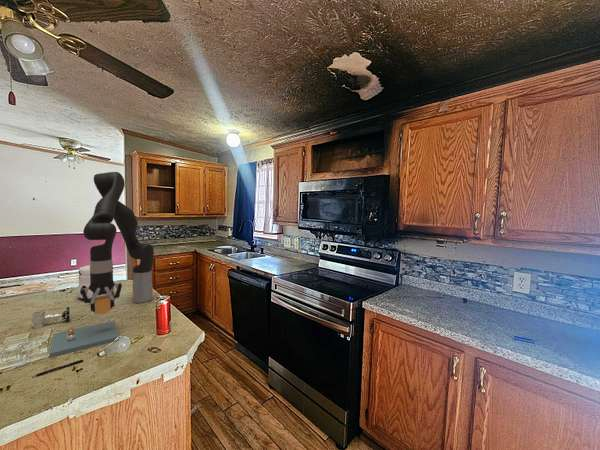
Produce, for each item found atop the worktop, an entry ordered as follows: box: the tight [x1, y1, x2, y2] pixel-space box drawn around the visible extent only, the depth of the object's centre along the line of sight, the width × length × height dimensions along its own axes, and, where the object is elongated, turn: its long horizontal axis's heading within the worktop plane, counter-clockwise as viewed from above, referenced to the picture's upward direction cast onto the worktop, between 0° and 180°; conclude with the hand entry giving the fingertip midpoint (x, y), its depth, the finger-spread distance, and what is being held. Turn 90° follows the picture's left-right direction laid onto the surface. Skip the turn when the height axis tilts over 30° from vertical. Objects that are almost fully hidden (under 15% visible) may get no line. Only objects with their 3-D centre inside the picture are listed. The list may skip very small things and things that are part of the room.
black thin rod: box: [31, 359, 84, 379], centre depth 84 cm, size 12×1×1 cm, turn 138°
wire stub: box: [67, 328, 76, 341], centre depth 99 cm, size 3×3×4 cm
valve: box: [31, 306, 71, 329], centre depth 113 cm, size 7×7×12 cm
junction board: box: [48, 320, 119, 358], centre depth 103 cm, size 20×18×2 cm
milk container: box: [76, 264, 116, 300], centre depth 148 cm, size 17×17×18 cm
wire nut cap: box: [94, 295, 112, 315], centre depth 106 cm, size 5×5×6 cm
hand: (102, 309), depth 106 cm, fingers closed on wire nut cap, 5 cm apart
